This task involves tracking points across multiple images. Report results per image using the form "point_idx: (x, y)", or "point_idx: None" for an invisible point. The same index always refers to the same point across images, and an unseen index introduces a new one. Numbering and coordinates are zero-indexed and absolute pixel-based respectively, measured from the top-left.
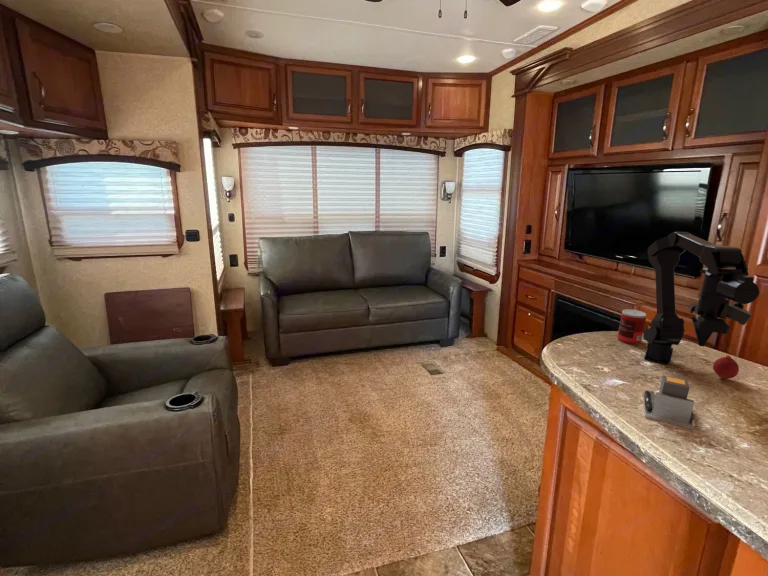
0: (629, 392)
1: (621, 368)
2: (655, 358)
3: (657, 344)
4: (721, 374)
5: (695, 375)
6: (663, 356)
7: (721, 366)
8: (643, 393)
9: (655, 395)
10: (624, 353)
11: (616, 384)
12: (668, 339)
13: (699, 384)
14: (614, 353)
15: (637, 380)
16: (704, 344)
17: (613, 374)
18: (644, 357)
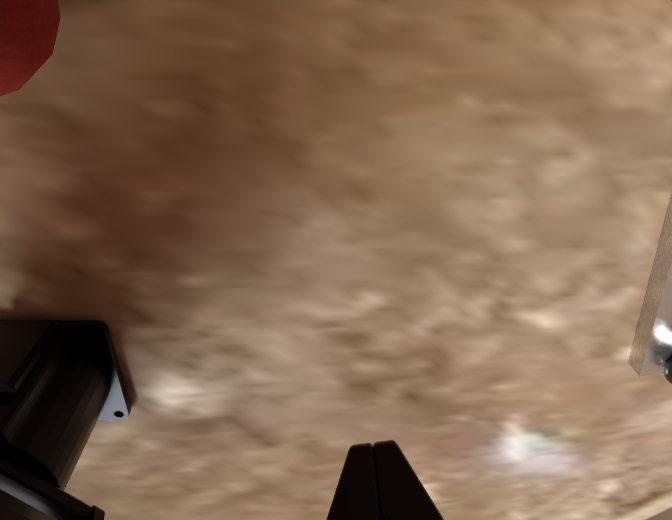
0: (618, 401)
1: None
2: (104, 388)
3: (62, 484)
4: (57, 12)
5: (125, 170)
6: (73, 377)
7: (18, 41)
8: (648, 373)
9: (658, 335)
10: (131, 475)
11: (556, 444)
12: (31, 516)
13: (281, 143)
14: (176, 500)
15: (457, 396)
16: (408, 467)
17: (449, 466)
18: (121, 419)
